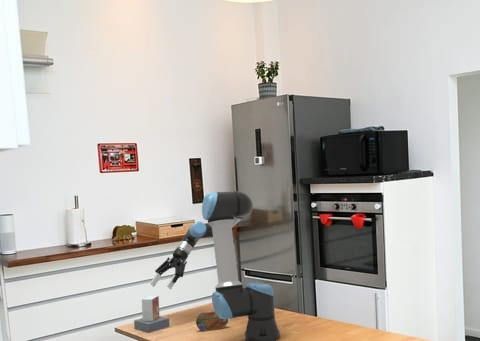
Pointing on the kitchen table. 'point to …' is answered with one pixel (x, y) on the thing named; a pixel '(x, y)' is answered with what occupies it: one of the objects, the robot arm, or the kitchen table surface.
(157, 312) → the white upright block
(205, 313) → the tin
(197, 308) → the kitchen table surface
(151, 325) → the block
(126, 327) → the kitchen table surface
